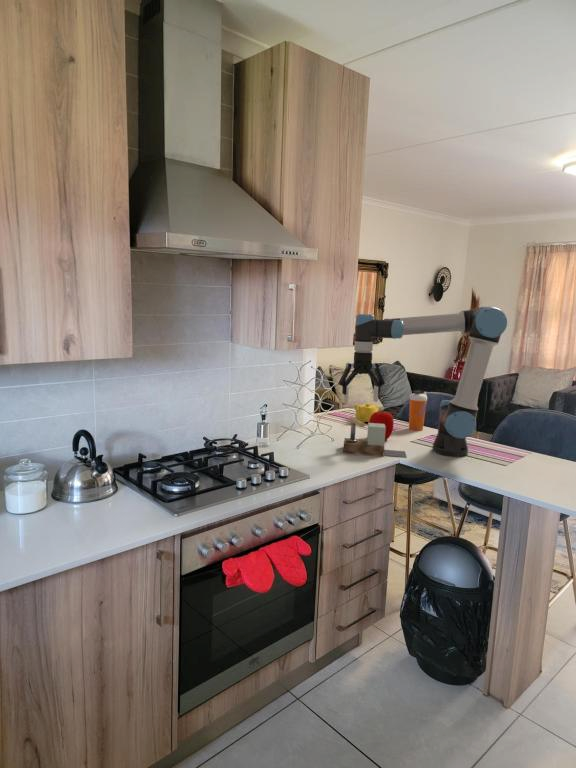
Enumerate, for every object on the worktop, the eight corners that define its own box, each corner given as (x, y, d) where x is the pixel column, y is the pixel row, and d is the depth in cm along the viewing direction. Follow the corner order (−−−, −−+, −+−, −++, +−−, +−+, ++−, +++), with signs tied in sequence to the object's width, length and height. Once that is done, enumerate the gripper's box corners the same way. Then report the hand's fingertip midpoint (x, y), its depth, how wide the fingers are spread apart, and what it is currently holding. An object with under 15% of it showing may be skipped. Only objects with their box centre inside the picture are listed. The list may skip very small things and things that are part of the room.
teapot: (356, 424, 281) (358, 405, 280) (352, 418, 294) (353, 400, 293) (382, 424, 282) (383, 406, 280) (376, 419, 295) (378, 401, 294)
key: (365, 446, 221) (367, 423, 220) (356, 446, 220) (357, 423, 218) (354, 439, 232) (356, 417, 230) (345, 439, 230) (347, 417, 229)
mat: (404, 452, 231) (405, 451, 231) (406, 457, 222) (406, 457, 222) (384, 450, 232) (384, 449, 232) (384, 456, 223) (384, 455, 223)
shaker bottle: (403, 428, 276) (406, 390, 272) (413, 426, 282) (416, 389, 278) (418, 431, 269) (421, 393, 266) (428, 429, 275) (431, 391, 272)
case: (382, 449, 233) (383, 441, 232) (383, 456, 223) (384, 447, 222) (344, 446, 235) (344, 437, 234) (343, 452, 225) (343, 443, 225)
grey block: (383, 441, 231) (384, 423, 230) (384, 446, 224) (385, 427, 223) (367, 440, 232) (368, 422, 230) (367, 444, 225) (368, 426, 223)
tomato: (387, 443, 243) (389, 413, 241) (364, 439, 249) (366, 410, 247) (396, 438, 254) (398, 409, 252) (373, 434, 260) (375, 406, 257)
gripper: (386, 350, 227) (383, 399, 231) (331, 350, 220) (329, 400, 223) (394, 352, 220) (391, 402, 224) (338, 352, 213) (336, 404, 216)
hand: (360, 401), depth 223 cm, fingers open, 13 cm apart
